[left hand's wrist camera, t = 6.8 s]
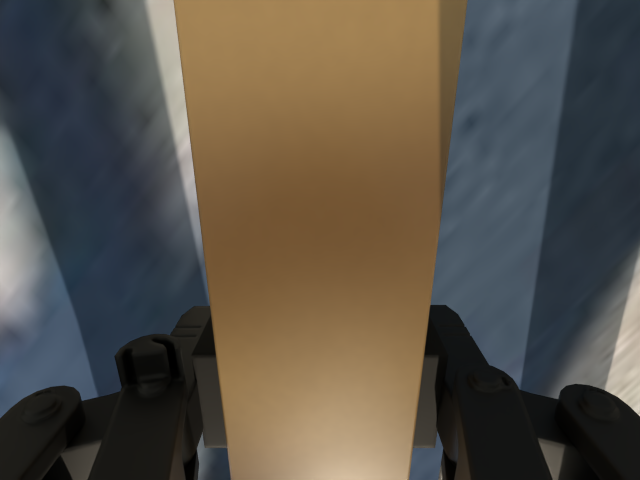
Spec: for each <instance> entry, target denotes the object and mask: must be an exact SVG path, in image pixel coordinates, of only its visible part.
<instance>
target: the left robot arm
mask: <svg viewBox="0 0 640 480" xmlns="http://www.w3.org/2000/svg"><path fill="white" fill-rule="evenodd" d="M115 360H116V365H117V369H118V373H119V377H120V382H121V386H122V389H121V391H120V392H117V393H113V394H110V395H106V396H102V397H97V398H93V399H88V400H84V401H82V400H81V396H80V393H79V392H78V391H77V390H76V389H75V388H74V387H69V386H55V387H49V388H46V389H43V390H40V391H37V392H35V393H33V394H31V395H29V396H27V397H25V398H23V399H22V400H21V401H19V402H18V403H17V404H15V405H14V406H13V407H12V408H10V409H9V410H8V411H7V412H6V413H5V414H4V415H3V416H2V417H1V418H0V480H198V469H199V461H198V454H197V446H198V443H199V440H200V437H201V435H202V432H203V439H204V446H205V448H227V443H226V435H225V426H224V418H223V410H222V401H221V393H220V384H219V376H218V368H217V359H216V351H215V343H214V334H213V326H212V317H211V309H210V306H194V307H193V308H191V309H190V310H189V311H187V312H186V313H185V314H183V315H182V316H181V318H180V320H179V321H178V323H177V324H176V327H175V328H174V329H173V331H172V333H171V334H170V335H167V334H152V335H148V336H143V337H140V338H138V339H135V340H133V341H130V342H129V343H127V344H126V345H125V346H123V347H122V348H120V350H119V351H118V352H117V354H116V355H115ZM437 431H438V434H439V436H440V439H441V442H442V445H443V454H442V461H441V467H440V473H439V480H640V416H639V415H638V414H637V413H636V412H635V411H634V410H633V409H632V408H631V407H630V406H628V405H627V404H626V403H624V402H623V401H622V400H621V399H619V398H618V397H616V396H614V395H613V394H611V393H609V392H607V391H605V390H602V389H599V388H596V387H593V386H590V385H582V384H573V385H568V386H566V387H565V388H563V389H562V390H561V392H560V395H559V399H554V398H550V397H545V396H541V395H536V394H532V393H528V392H525V391H522V390H519V388H518V386H517V384H516V383H515V381H514V380H513V379H512V378H511V377H510V376H509V375H507V374H506V373H505V372H504V371H502V370H499V369H497V368H495V367H493V366H490V365H489V364H488V362H487V361H486V359H485V358H484V356H483V354H482V353H481V351H480V349H479V348H478V346H477V345H476V343H475V341H474V340H473V338H472V336H470V333H469V332H468V330H467V328H466V327H464V323H463V322H462V320H461V319H460V317H459V315H458V314H457V313H456V312H454V311H453V310H451V309H450V308H449V307H447V306H446V305H430V311H429V319H428V327H427V335H426V343H425V352H424V360H423V368H422V376H421V384H420V393H419V401H418V409H417V417H416V425H415V433H414V442H413V448H435V444H436V437H437Z"/></svg>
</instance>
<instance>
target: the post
mask: <svg viewBox="0 0 640 480" xmlns="http://www.w3.org/2000/svg"><path fill="white" fill-rule="evenodd" d="M174 8H175V16H176V25H177V33H178V41H179V50H180V58H181V66H182V75H183V83H184V91H185V100H186V108H187V117H188V125H189V133H190V142H191V150H192V158H193V167H194V175H195V184H196V192H197V200H198V209H199V217H200V225H201V234H202V242H203V251H204V259H205V267H206V276H207V284H208V292H209V301H210V309H211V317H212V326H213V334H214V343H215V351H216V359H217V368H218V376H219V384H220V393H221V401H222V410H223V418H224V426H225V435H226V443H227V451H228V460H229V468H230V477H231V480H409V474H410V466H411V458H412V450H413V442H414V433H415V425H416V417H417V409H418V401H419V393H420V384H421V376H422V368H423V360H424V352H425V343H426V335H427V327H428V319H429V311H430V302H431V294H432V286H433V278H434V270H435V262H436V253H437V245H438V237H439V229H440V221H441V212H442V204H443V196H444V188H445V180H446V171H447V163H448V155H449V147H450V139H451V131H452V122H453V114H454V106H455V98H456V90H457V81H458V73H459V65H460V57H461V49H462V40H463V32H464V24H465V16H466V8H467V0H174Z"/></svg>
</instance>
